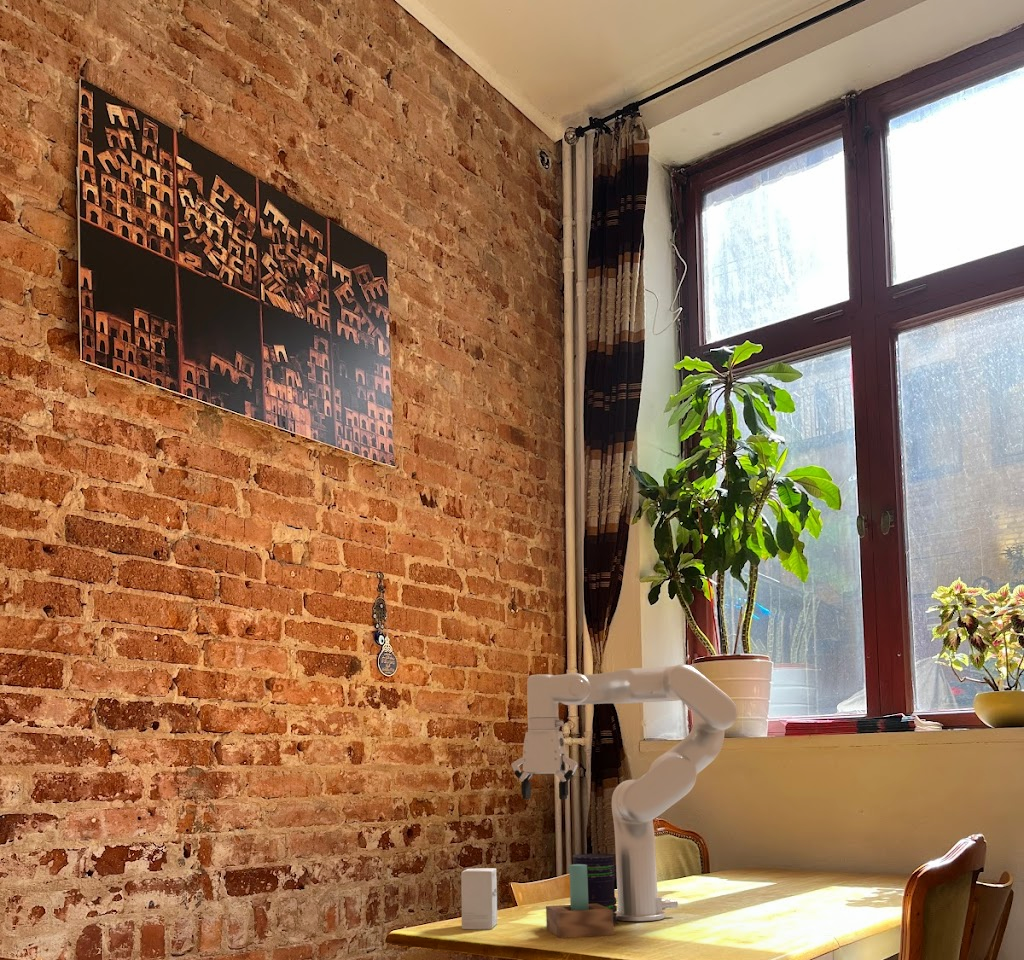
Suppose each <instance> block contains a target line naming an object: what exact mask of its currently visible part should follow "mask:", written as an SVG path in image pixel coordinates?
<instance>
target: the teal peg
mask: <svg viewBox="0 0 1024 960" xmlns="http://www.w3.org/2000/svg"><path fill="white" fill-rule="evenodd" d="M568 867H569V868H568V871H569V872H568V873H569V874H568V875H569V892H570V893H569V898H570V900H569V901H570V905H571V911H574V910H589V904H588V877H587V865H584V864H575V865H573V864H569V865H568Z"/></svg>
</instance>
